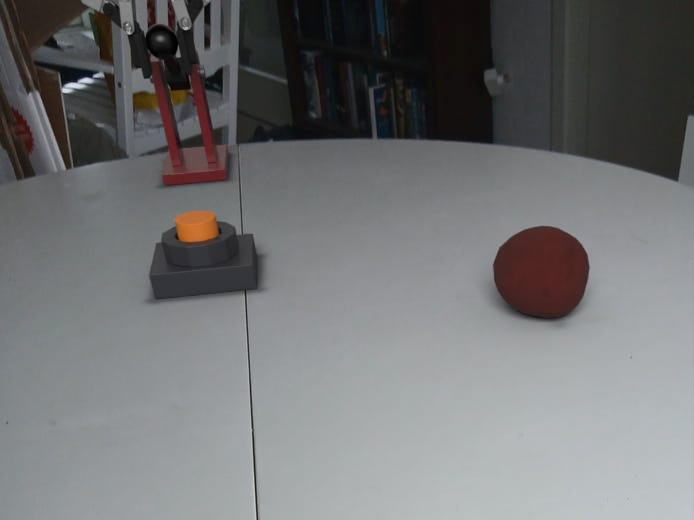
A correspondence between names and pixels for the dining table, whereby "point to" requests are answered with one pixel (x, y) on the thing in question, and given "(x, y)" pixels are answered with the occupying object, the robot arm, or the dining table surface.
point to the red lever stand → (179, 161)
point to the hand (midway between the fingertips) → (168, 72)
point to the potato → (542, 271)
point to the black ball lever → (167, 55)
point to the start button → (196, 226)
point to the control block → (204, 264)
